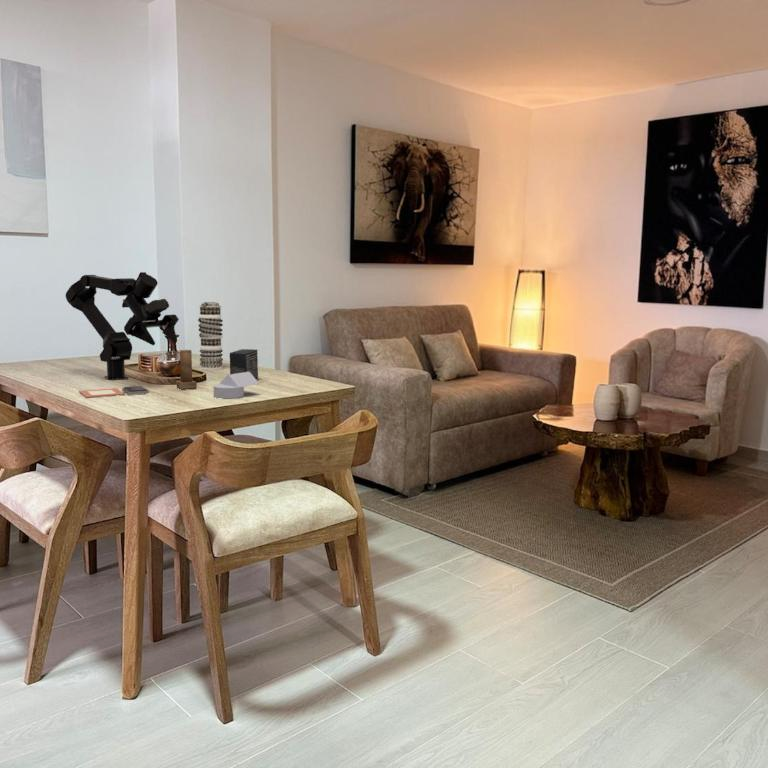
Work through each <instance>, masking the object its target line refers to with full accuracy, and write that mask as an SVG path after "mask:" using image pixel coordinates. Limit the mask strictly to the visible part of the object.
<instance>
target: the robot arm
mask: <svg viewBox="0 0 768 768" xmlns="http://www.w3.org/2000/svg"><path fill="white" fill-rule="evenodd" d="M158 283H159V282H158V280H157V279H156V278H154V277H153V276H152V275H150V274H148V273H147V272H146V271H145V272H143V271H141V272H139V274H138V276H137V278H136V279H135V278H133V277H132V278H131V277H130V278H128V277H126V278H121V277H120V278H111V277H104V276H100V275H96V274H84V275H81V277H80V278H79V280H77V281H76V282H74V283H73V284H71V285H70V287H68V289H67V291H66V292H65V298H66V301H67V302H68V305H70V306H71V307H72V308H73V309H76V310H78V311H80V312H82V314H83V315H84V316H85V318H86V319H87V320H88V322H89V323H90V325H91V326H92V327H93V328H94V330H95V331H96V332H97V333H98V335H99V337H101V339H102V348H103V349H102V351H101V352H100V354H99V358H100V359H99V360H100V361H101V362H104V363H105V362H106V370H107V371H106V372H107V373H106V374H107V375H104V378H106V379H107V380H109V381H111V380H112V381H113V380H125V379H124V378H127V379H129V377H128V376H127V375H126V370H125V368H126V367H125V365H126V364H125V361H127V360H128V361H130V360H131V356H132V351H133V345H132V342H131V338H129V337H128V336H130V337H134V338H137V339H138V340H142V341H143V342H146V344H149V345H151V346H155V345H156V342H155V340H154V338H153V337H152V335H151V333H150V332H149V330H148V328H150V329H151V328H159V329H160V331H161V333H162V334H164V336H166V337H167V338H168V339H169V340H170V341H172V342H173V343H175V344H176V343H177V342H178V338H177V334H176V329H175V326H176V324H177V323H178V322H179V317H178V316H177V315H176V314H165V315H164V316H163V317H162V318H161V316H162V313H163V312H164V311H166V310H167V309H168V308H170V303H169V302H168V300H167V299H166V298H161V299H154V300H152V301H150V302H147V300H146V299H149V298H150V297H151V296H152V294H153V292H155V289H156V287H157V285H158ZM97 289H101V290H106V291H109V292H110V293H111V294H113V295H115V296H118V297H124V296H126V297H125V299H122V303H121V307H122V308H123V309H124V308H129V310H130V311H131V312H132V314H133V315H132V316H131V317H129V319H128V320H127V322H126V323H125V325H124V327H123V329H124V331H116V330H115V329H114V328H113V326H112V325H111V324H110V322H109V321H108V320H107V318H106V317H105V316H104V314H103V312H102V311H100V309H99V308H98V306H97V305H96V304H95V301H96V299H95V297H96V294H97ZM159 318H161V319H159Z"/></svg>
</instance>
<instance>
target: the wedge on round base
mask: <svg viewBox="0 0 768 768" xmlns="http://www.w3.org/2000/svg"><path fill="white" fill-rule="evenodd" d="M254 385H260V382H259V381H258V379H255V378H254V377H253V375H252V374H251V373H250V372H243V373H236V374H230V373H229V374H227V376H226V377H225V378H223V379H221V381H220V382H219V383H217V384H213V398H215V397H216V398H215V399H218V398H223V399H222V400H235V399H234V398H237V399H240V398H239V397H242V398H244V397H245V387H248V386H254ZM243 396H244V397H243Z"/></svg>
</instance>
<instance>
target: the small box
mask: <svg viewBox="0 0 768 768" xmlns="http://www.w3.org/2000/svg"><path fill="white" fill-rule="evenodd" d="M258 358H259V357H258V349H253V348H251V349H246V348H245V349H244V348H243V349H242V348H241V349H238V350H235V351H232V352H229V375H230V374H236V373H243V372H250V373H251V374H252V375H253V377H254V378H255V379H256V380H258V379H259V366H258V365H259V364H258V363H259V361H258V360H259V359H258Z"/></svg>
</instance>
